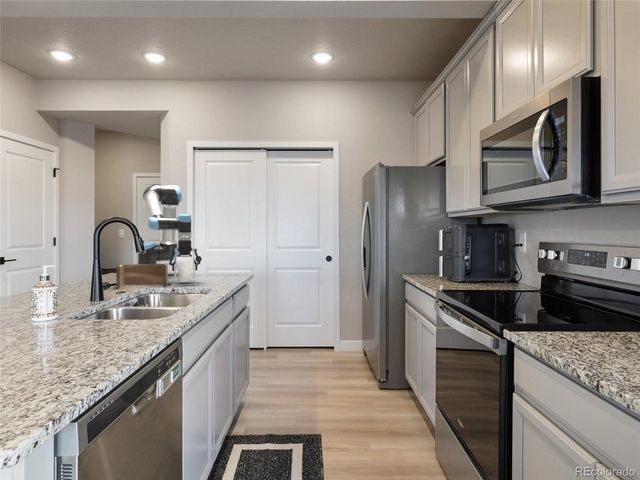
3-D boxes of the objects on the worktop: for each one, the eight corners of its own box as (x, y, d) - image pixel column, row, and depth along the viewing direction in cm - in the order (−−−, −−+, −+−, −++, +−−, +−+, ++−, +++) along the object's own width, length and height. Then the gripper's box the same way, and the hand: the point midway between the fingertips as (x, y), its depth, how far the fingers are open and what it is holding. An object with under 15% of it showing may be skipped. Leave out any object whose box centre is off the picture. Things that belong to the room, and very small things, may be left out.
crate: (121, 284, 224) (121, 263, 223) (167, 282, 232) (167, 262, 232) (116, 288, 208) (116, 266, 207) (166, 286, 216) (166, 264, 216)
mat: (172, 283, 231) (172, 282, 231) (197, 282, 236) (197, 281, 236) (171, 286, 217) (171, 285, 217) (198, 285, 222) (198, 284, 222)
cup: (190, 282, 221) (190, 257, 220) (172, 282, 221) (172, 257, 221) (196, 280, 231) (196, 255, 231) (179, 279, 232) (179, 255, 231)
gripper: (163, 240, 218) (163, 277, 219) (205, 239, 226) (205, 276, 227) (164, 239, 225) (164, 276, 226) (204, 239, 233) (204, 274, 234)
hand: (184, 276), depth 226 cm, fingers closed on cup, 10 cm apart
